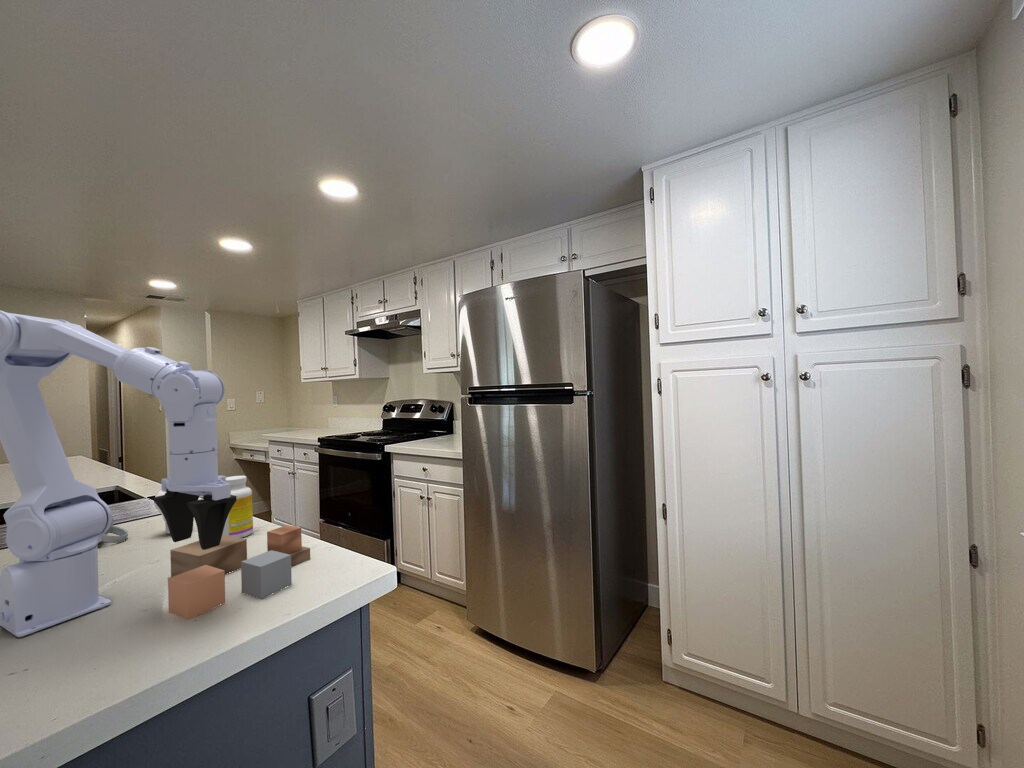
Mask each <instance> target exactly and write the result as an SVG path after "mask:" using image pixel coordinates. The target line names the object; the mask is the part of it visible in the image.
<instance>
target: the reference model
mask: <svg viewBox="0 0 1024 768" xmlns="http://www.w3.org/2000/svg"><path fill="white" fill-rule="evenodd" d="M266 532H267V533H266V535H267V536H266V537H267V538H266V539H267V540H266V547H267V552H268V551H271V550H273V551H277V552H281V553H285V554H289V555H291V566H292V567H294V565H295V566H296V564H297V565H298V563H299V564H302V563H303V562H306V561H309V560H311V547H307V546H303V544H302V543H303V542H302V541H303V540H302V539H303V538H302V537H303V535H302V527H299V526H295V525H288V524H287V525H283V526H280V527H277V528H274V529H271V530H269V531H266ZM263 553H264V552H262V553H261V554H263ZM301 562H302V563H301Z"/></svg>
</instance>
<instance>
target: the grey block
mask: <svg viewBox="0 0 1024 768" xmlns="http://www.w3.org/2000/svg"><path fill="white" fill-rule="evenodd" d="M262 553H263V554H262ZM262 553H260V554H257V555H255V556H253V557H249V558H247V560H244V561H241V570H240V571H241V576H240V578H241V594H244V593H245V594H244V595H247V594H248V595H247V596H250V595H251V596H250V597H253V596H254V597H253V598H256V597H257V598H256V599H259V598H260V599H259V600H264V599H265V598H268V597H269V595H270V596H272V595H273V594H272V593H274V594H276V593H278V592H280V591H282V590H284V589H283V588H285V587H287V586H289V587H290V585H291V586H292V584H293V583H292V567H291V555H289V554H285V553H281V552H277V551H273V550H271V551H268V550H267V551H265V552H262ZM287 588H288V587H287ZM281 589H282V590H281ZM285 589H286V588H285ZM279 590H280V591H279ZM277 591H278V592H277ZM275 592H276V593H275ZM271 594H272V595H271ZM267 596H268V597H267Z"/></svg>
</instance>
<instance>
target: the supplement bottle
mask: <svg viewBox="0 0 1024 768" xmlns="http://www.w3.org/2000/svg"><path fill="white" fill-rule="evenodd" d="M247 480H248V479H247V476H246V475H234V476H233V475H232V476H226V480H225V481H224V482H225V483H229V484H230V488H231V495H234V496H236V498H237V500H236V502H235V504H234V505H233V507H232V509H231V510H230V512H229V515H228V517H227V520H226V523H225V526H224V530H223V534H222V535H225V536H231V537H236V538H242V539H244V538H245V537H247V536H249V535H251V534H253V532H254V514H253V510H254V509H253V490H252V489H251V488H250V487H249V486H246V483H247Z"/></svg>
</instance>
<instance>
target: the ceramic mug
mask: <svg viewBox="0 0 1024 768" xmlns="http://www.w3.org/2000/svg"><path fill="white" fill-rule="evenodd" d="M111 534H113V535H111ZM128 536H129V531H128V530H127V529H124V528H122V527H120V526H118V525H117V526H116V525H114V517H113V515H112V522H111V525H110V527H109V529H108V530H107V531H106V532H105V533H104V534H102V541H101V542H102V543H110V544H119V543H122V541H123V542H125V539H127V538H128Z"/></svg>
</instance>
